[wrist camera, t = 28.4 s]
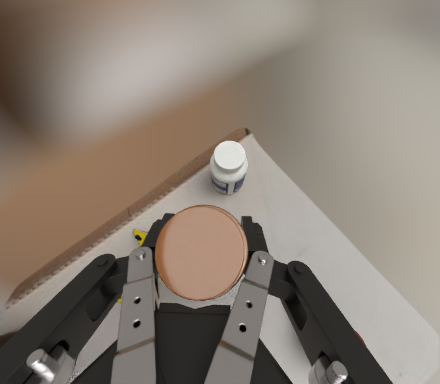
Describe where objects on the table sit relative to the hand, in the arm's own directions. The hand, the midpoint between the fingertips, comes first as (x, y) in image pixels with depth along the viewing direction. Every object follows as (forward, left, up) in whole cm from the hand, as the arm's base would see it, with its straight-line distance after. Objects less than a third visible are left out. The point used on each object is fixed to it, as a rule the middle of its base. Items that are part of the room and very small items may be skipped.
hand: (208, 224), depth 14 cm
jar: (-1, -2, -4) cm, 5 cm away
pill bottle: (+6, +7, -16) cm, 18 cm away
